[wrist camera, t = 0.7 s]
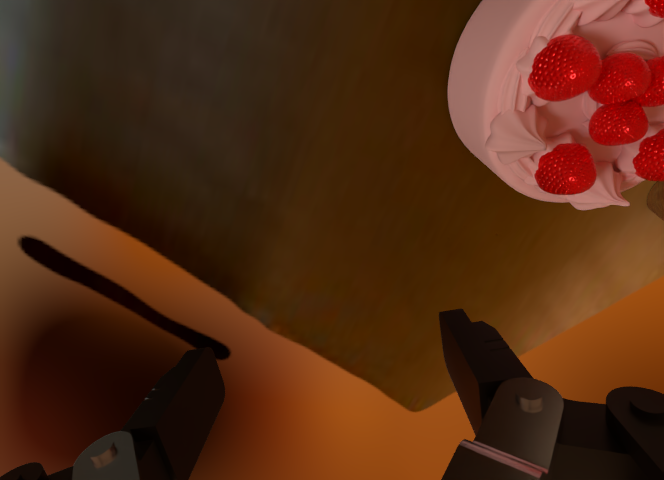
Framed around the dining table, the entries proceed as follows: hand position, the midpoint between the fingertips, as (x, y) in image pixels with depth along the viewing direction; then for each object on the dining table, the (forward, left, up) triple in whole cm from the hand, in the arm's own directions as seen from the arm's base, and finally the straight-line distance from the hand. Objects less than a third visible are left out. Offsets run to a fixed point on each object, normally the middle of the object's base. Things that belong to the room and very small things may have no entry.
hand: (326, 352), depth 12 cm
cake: (+13, +19, -29) cm, 37 cm away
